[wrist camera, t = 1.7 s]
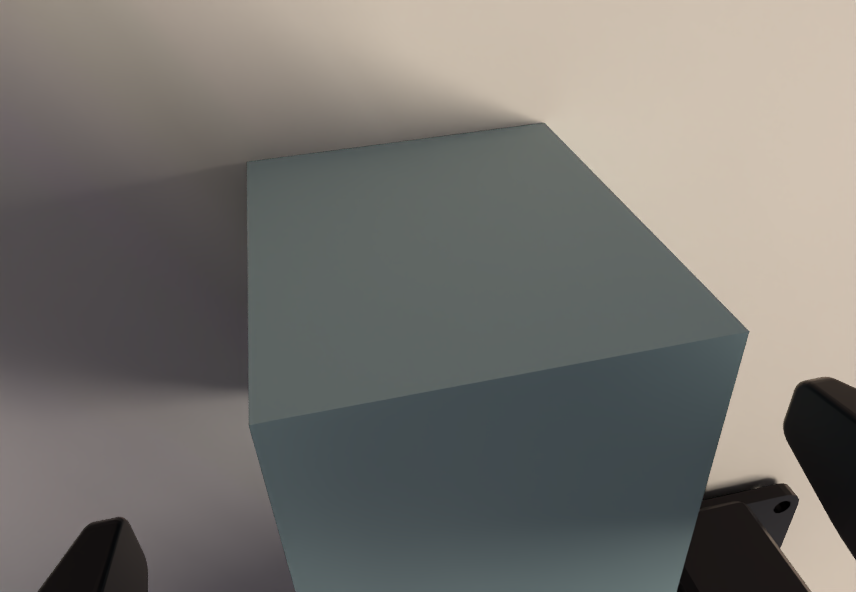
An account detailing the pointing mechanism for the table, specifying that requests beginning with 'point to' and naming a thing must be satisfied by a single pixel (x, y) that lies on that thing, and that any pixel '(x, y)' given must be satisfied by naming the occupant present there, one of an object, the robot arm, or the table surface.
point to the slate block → (476, 371)
